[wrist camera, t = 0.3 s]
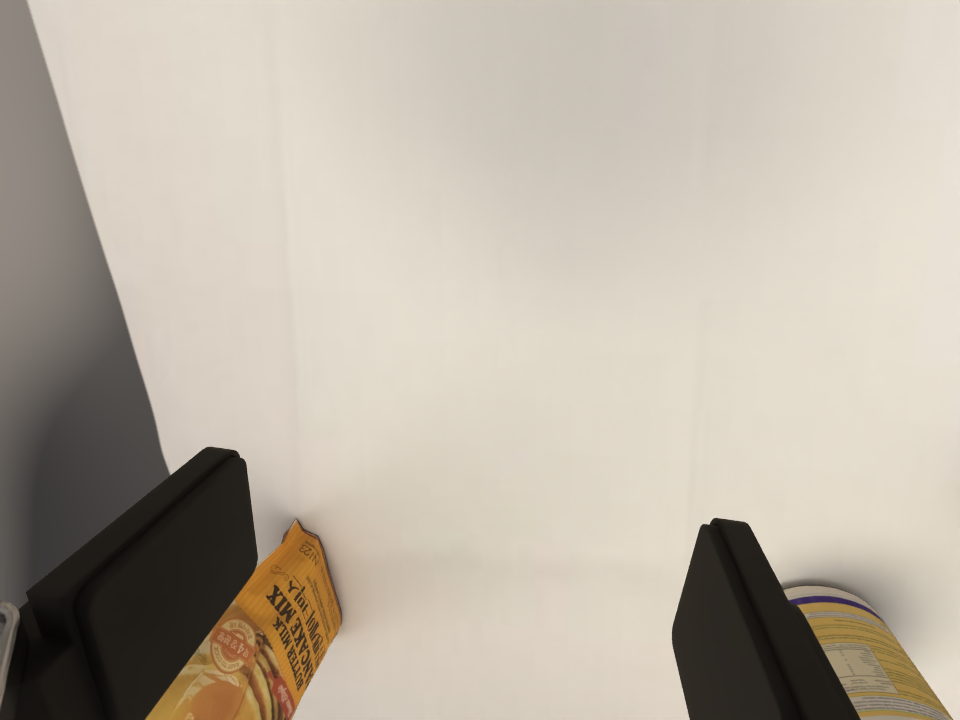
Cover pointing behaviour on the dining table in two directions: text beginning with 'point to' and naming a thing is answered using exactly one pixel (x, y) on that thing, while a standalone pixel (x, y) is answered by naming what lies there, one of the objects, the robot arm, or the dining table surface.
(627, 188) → the dining table surface
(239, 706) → the pancake mix bag
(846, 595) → the supplement tub
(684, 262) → the dining table surface
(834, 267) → the dining table surface
